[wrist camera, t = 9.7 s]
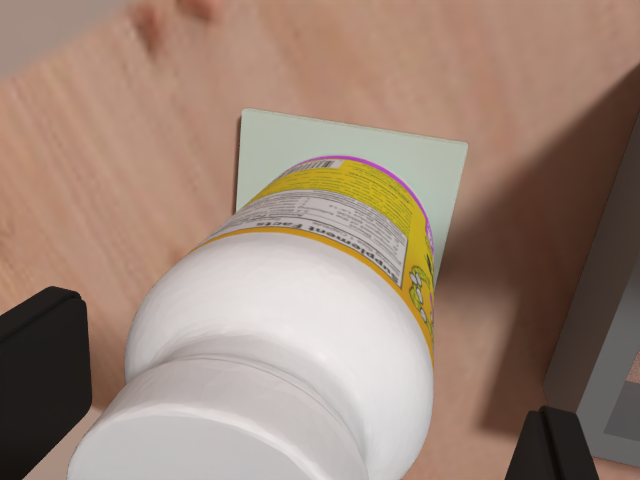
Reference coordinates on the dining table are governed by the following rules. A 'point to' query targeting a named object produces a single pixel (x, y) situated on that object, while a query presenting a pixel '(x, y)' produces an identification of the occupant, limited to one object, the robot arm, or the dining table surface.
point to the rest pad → (340, 138)
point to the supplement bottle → (283, 341)
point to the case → (605, 327)
